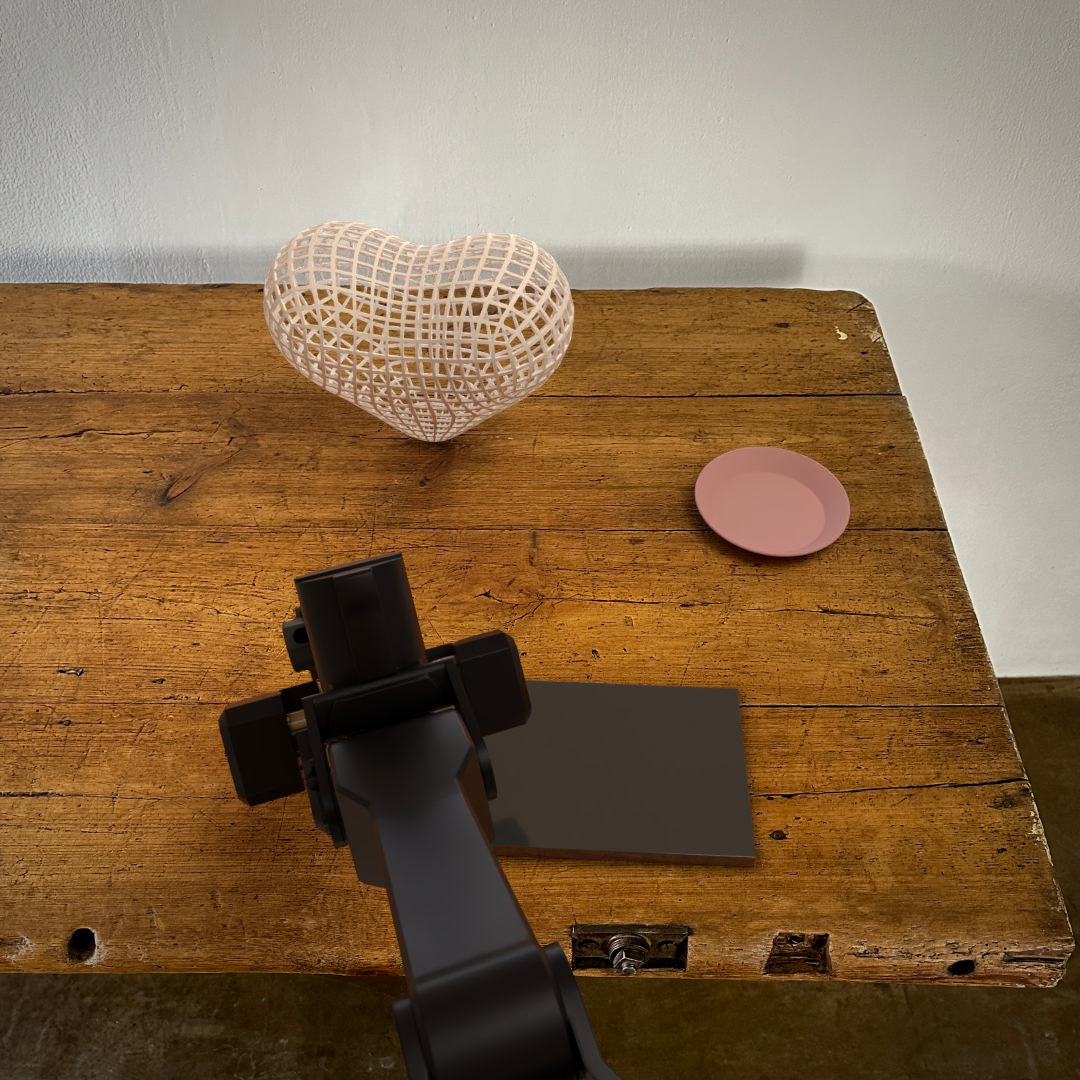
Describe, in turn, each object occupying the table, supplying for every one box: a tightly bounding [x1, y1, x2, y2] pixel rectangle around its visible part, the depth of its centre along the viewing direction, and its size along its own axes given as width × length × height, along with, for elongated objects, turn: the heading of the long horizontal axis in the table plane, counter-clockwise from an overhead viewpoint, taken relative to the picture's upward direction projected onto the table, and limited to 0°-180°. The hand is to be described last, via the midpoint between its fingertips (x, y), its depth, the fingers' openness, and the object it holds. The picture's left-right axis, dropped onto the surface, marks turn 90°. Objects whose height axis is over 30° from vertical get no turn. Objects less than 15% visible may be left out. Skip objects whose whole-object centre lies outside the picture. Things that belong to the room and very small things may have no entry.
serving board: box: [483, 679, 757, 867], centre depth 73 cm, size 14×20×2 cm
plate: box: [694, 446, 851, 558], centre depth 91 cm, size 14×14×2 cm
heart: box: [262, 220, 575, 443], centre depth 91 cm, size 28×16×22 cm, turn 82°
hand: (371, 692), depth 69 cm, fingers closed on ice cream cone, 5 cm apart
